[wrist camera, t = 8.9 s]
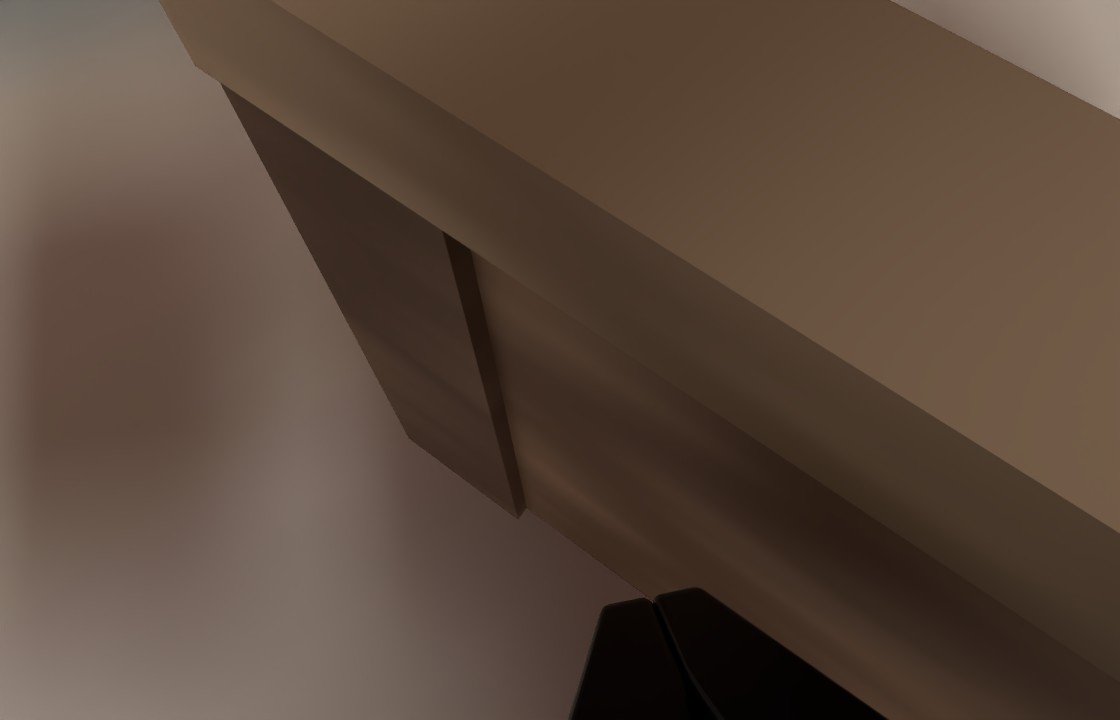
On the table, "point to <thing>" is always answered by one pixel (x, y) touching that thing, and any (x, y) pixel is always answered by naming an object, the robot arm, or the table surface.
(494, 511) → the table surface
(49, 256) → the table surface
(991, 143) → the gate leaf
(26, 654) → the table surface
